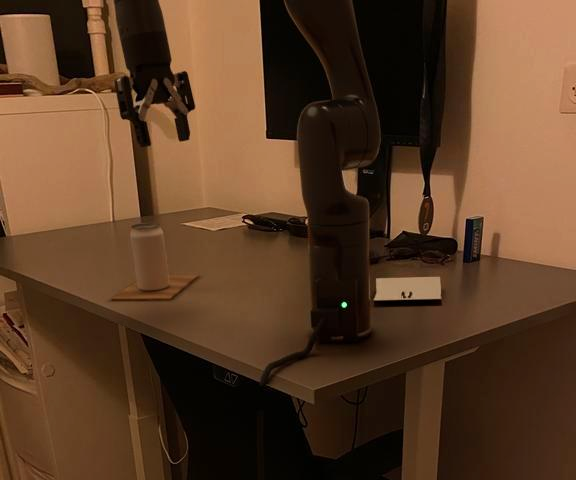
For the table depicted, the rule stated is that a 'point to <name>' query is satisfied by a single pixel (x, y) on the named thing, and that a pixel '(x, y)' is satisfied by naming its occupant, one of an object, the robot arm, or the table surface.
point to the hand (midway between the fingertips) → (165, 143)
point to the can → (149, 257)
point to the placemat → (166, 294)
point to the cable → (395, 254)
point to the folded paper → (408, 288)
